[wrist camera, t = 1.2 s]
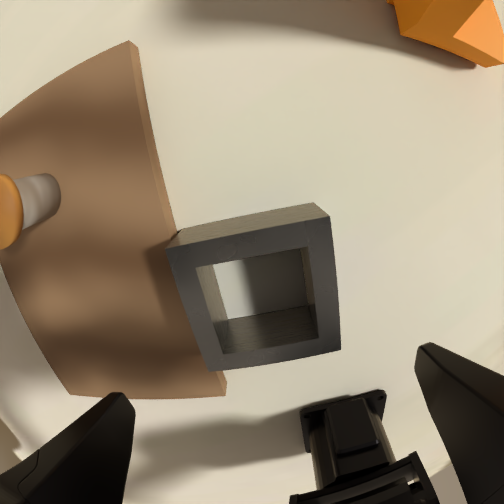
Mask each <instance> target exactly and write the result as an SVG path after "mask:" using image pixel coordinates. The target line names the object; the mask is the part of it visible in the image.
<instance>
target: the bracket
mask: <svg viewBox="0 0 504 504" xmlns="http://www.w3.org/2000/svg"><path fill="white" fill-rule="evenodd" d="M387 3H388V4H392V5H394V6H395V10H396V15H397V20H398V25H399V30H400V35H402V36H406V37H409V38H412V39H416V40H419V41H422V42H425V43H428V44H431V45H433V46H436V47H439V48H441V49H444V50H447V51H449V52H452V53H454V54H456V55H459V56H461V57H463V58H466V59H468V60H470V61H472V62H474V63H476V64H478V65H480V66H482V67H491V66H496V65H500V64H504V34H503V30H502V27H501V24H500V20H499V17H498V14H497V12H496V9H495V6H494V3H493V1H492V0H387Z"/></svg>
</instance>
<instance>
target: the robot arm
mask: <svg viewBox="0 0 504 504" xmlns="http://www.w3.org/2000/svg"><path fill="white" fill-rule="evenodd" d="M414 369H415V374H416V376H417V379H418V382H419V384H420V387H421V390H422V393H423V395H424V398H425V401H426V404H427V407H428V410H429V412H430V414H431V417H432V419H433V421H434V423H435V425H436V427H437V430H438V432H439V434H440V436H441V438H442V441H443V443H444V445H445V447H446V450H447V452H448V454H449V457H450V459H451V462H452V464H453V466H454V469H455V471H456V474H457V476H458V479H459V482H460V484H461V487H462V490H463V492H464V495H465V498H466V501H467V503H468V504H504V376H503V375H501V374H499V373H496V372H494V371H492V370H490V369H488V368H486V367H483V366H481V365H479V364H477V363H475V362H473V361H471V360H468V359H466V358H464V357H462V356H460V355H458V354H456V353H453V352H451V351H449V350H447V349H445V348H443V347H441V346H438V345H436V344H434V343H432V342H429V343H426V344H423V345H420V346H419V347H418V350H417V355H416V360H415V366H414ZM386 397H387V395H386V393H385V391H384V390H379V391H375V392H372V393H369V394H365V395H362V396H358V397H354V398H350V399H346V400H342V401H338V402H334V403H330V404H325V405H321V406H316V407H311V408H306V409H303V410H301V411H300V419H301V425H302V431H303V437H304V444H305V450H306V452H307V453H311V455H312V461H313V467H314V474H315V480H316V487H317V490H316V491H312V492H308V493H304V494H300V495H299V494H295V495H290V500H289V504H440V503H439V500H438V497H437V495H436V493H435V490H434V488H433V486H432V484H431V482H430V479H429V477H428V475H427V473H426V471H425V469H424V466H423V464H422V462H421V460H420V458H419V456H418V454H417V452H416V451H415V452H413V453H411V454H409V456H407V457H405V458H403V459H401V460H399V461H397V462H396V459H395V456H394V454H393V451H392V448H391V446H390V443H389V440H388V438H387V435H386V433H385V430H384V427H383V425H382V418H383V413H384V408H385V403H386ZM135 416H136V414H135V409H134V407H133V406H132V404H131V403H130V401H129V400H128V398H127V397H126V395H125V394H124V393H122V392H111V393H109V394H108V395H107V396H106V397H104V398H103V399H102V400H101V401H99V402H98V403H97V404H96V405H94V406H93V407H92V408H91V409H89V410H88V411H87V412H86V413H84V414H83V415H82V416H81V417H79V418H78V419H77V420H75V421H74V422H73V423H72V424H70V425H69V426H68V427H67V428H65V429H64V430H63V431H61V432H60V433H59V434H58V435H56V436H55V437H54V438H52V439H51V440H50V441H49V442H47V443H46V444H45V445H43V446H42V447H41V448H40V449H38V450H37V451H36V452H34V453H33V454H32V455H30V456H29V457H27V458H26V459H25V460H23V461H22V462H20V463H19V464H17V465H16V466H14V467H12V468H11V469H9V470H7V471H6V472H4V473H2V474H1V475H0V504H122V502H123V496H124V490H125V484H126V479H127V473H128V468H129V463H130V458H131V452H132V444H133V434H134V424H135ZM411 480H414V483H412V484H410V485H408V483H407V482H409V481H411Z"/></svg>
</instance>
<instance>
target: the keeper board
mask: <svg viewBox="0 0 504 504" xmlns="http://www.w3.org/2000/svg"><path fill="white" fill-rule="evenodd" d="M177 234H178V233H177V229H176V226H175V222H174V218H173V215H172V211H171V207H170V203H169V199H168V195H167V192H166V187H165V183H164V179H163V175H162V171H161V167H160V162H159V158H158V154H157V149H156V145H155V140H154V135H153V130H152V126H151V121H150V116H149V110H148V105H147V100H146V94H145V89H144V83H143V77H142V71H141V64H140V58H139V51H138V47H137V46H135V45H134V44H133V43H132V42H130V41H129V40H128V41H126V42H124V43H121V44H119V45H117V46H115V47H112V48H110V49H108V50H106V51H104V52H102V53H100V54H98V55H96V56H94V57H92V58H90V59H88V60H86V61H84V62H82V63H80V64H79V65H77V66H75V67H73V68H71V69H70V70H68V71H66V72H65V73H63V74H61V75H60V76H58V77H56V78H55V79H53V80H52V81H50V82H48V83H47V84H45V85H44V86H42V87H41V88H39V89H38V90H37V91H35V92H34V93H32V94H31V95H29V96H28V97H27V98H25V99H24V100H23V101H21V102H20V103H19V104H17V105H16V106H15V107H13V108H12V109H11V110H10V111H8V112H7V113H6V114H5V115H3V116H2V117H1V118H0V263H1V266H2V269H3V272H4V274H5V277H6V279H7V282H8V284H9V287H10V289H11V291H12V294H13V296H14V298H15V301H16V303H17V305H18V307H19V309H20V311H21V314H22V316H23V318H24V320H25V322H26V324H27V326H28V328H29V329H30V331H31V333H32V335H33V337H34V339H35V341H36V342H37V344H38V346H39V348H40V349H41V351H42V353H43V355H44V356H45V358H46V360H47V361H48V363H49V364H50V366H51V368H52V369H53V371H54V372H55V374H56V375H57V377H58V378H59V380H60V381H61V383H62V384H63V386H64V387H65V389H66V390H67V391H68V393H69V394H70V395H79V396H89V397H102V398H104V397H106V396H107V395H108V394H109V393H111V392H122V393H124V394H125V395H126V397H127V398H128V399H185V398H203V397H217V396H226V386H227V381H226V379H225V376H224V374H223V371H213V372H208V369H207V367H206V364H205V362H204V359H203V357H202V354H201V352H200V349H199V347H198V344H197V341H196V339H195V336H194V334H193V331H192V328H191V326H190V323H189V320H188V317H187V315H186V312H185V309H184V306H183V303H182V300H181V298H180V295H179V292H178V289H177V286H176V283H175V280H174V277H173V274H172V271H171V267H170V264H169V261H168V258H167V255H166V251H165V248H166V247H167V246H168V245H169V243H170V242H171V241H172V240H173V239H174V238H175V237H176V236H177Z"/></svg>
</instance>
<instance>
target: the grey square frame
mask: <svg viewBox="0 0 504 504" xmlns="http://www.w3.org/2000/svg"><path fill="white" fill-rule="evenodd" d="M296 248H300V252H301V258H302V265H303V271H304V278H305V285H306V293H307V300H308V305H307V306H302V307H297V308H292V309H287V310H282V311H276V312H271V313H265V314H260V315H254V316H248V317H242V318H236V319H229V320H228V318H227V314H226V311H225V308H224V304H223V301H222V297H221V294H220V290H219V287H218V283H217V279H216V276H215V272H214V269H213V264H218V263H223V262H228V261H234V260H239V259H244V258H249V257H255V256H260V255H265V254H270V253H275V252H281V251H286V250H291V249H296ZM165 251H166V255H167V258H168V261H169V264H170V267H171V271H172V274H173V277H174V280H175V283H176V286H177V289H178V292H179V295H180V298H181V300H182V303H183V306H184V309H185V312H186V315H187V317H188V320H189V323H190V326H191V328H192V331H193V334H194V336H195V339H196V341H197V344H198V347H199V349H200V352H201V354H202V357H203V359H204V362H205V364H206V367H207V369H208V372H213V371H222V370H231V369H239V368H246V367H254V366H260V365H267V364H273V363H279V362H285V361H290V360H295V359H301V358H306V357H311V356H316V355H320V354H325V353H329V352H334V351H338V350H341V335H340V316H339V301H338V288H337V276H336V265H335V256H334V246H333V238H332V229H331V222H330V216H329V215H328V214H327V213H326V212H324V211H323V210H322V209H321V208H320V207H318V206H317V205H316V204H315V203H308V204H303V205H297V206H292V207H286V208H281V209H276V210H271V211H265V212H260V213H255V214H250V215H245V216H240V217H235V218H231V219H226V220H221V221H216V222H212V223H207V224H202V225H198V226H193V227H189V228H184V229H182V230H181V231H180V232H179V233H178V234H177V236H176V237H175V238H174V239H173V240H172V241H171V242H170V243H169V245H168V246H167V247H166V248H165Z"/></svg>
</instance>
